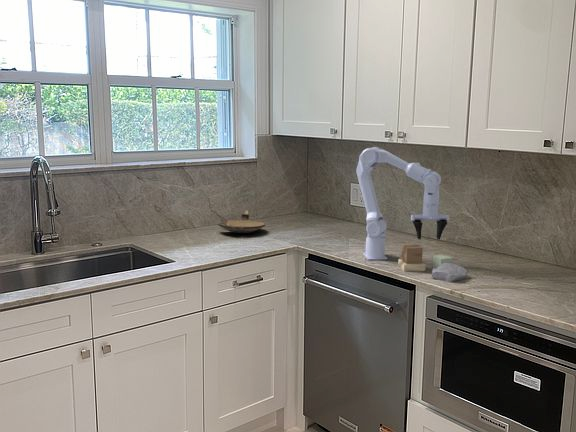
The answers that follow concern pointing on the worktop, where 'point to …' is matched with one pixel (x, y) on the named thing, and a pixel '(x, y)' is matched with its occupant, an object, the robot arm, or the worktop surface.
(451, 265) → the stone block
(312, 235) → the worktop surface
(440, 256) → the sage cube
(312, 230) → the worktop surface
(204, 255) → the worktop surface
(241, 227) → the oil lamp
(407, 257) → the walnut cube
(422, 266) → the oak block
